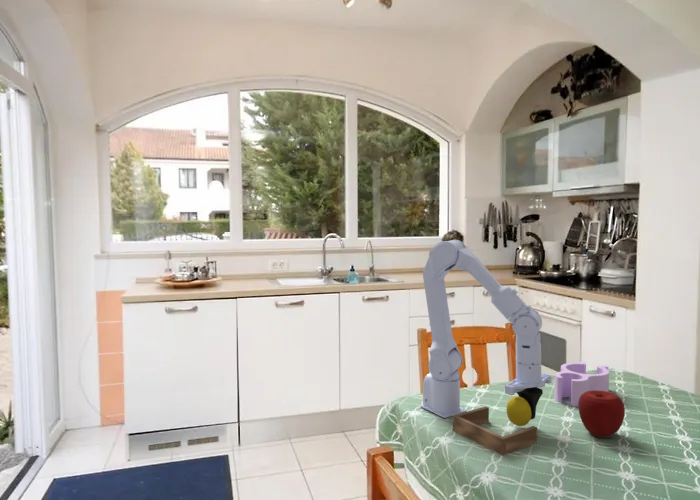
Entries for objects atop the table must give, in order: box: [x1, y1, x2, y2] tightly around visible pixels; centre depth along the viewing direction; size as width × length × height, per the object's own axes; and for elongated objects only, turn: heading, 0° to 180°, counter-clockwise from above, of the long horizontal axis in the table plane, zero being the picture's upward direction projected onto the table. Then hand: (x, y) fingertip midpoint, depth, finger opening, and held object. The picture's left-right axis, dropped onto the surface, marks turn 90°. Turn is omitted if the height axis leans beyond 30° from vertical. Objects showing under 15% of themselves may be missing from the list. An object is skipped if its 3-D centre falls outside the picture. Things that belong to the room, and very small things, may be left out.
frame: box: [452, 405, 538, 456], centre depth 116 cm, size 15×11×4 cm
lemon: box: [506, 396, 531, 427], centre depth 120 cm, size 6×6×8 cm
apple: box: [577, 390, 626, 438], centre depth 117 cm, size 10×10×10 cm
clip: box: [554, 360, 610, 407], centre depth 143 cm, size 20×12×7 cm, turn 134°
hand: (529, 417), depth 122 cm, fingers closed, pressing on lemon
